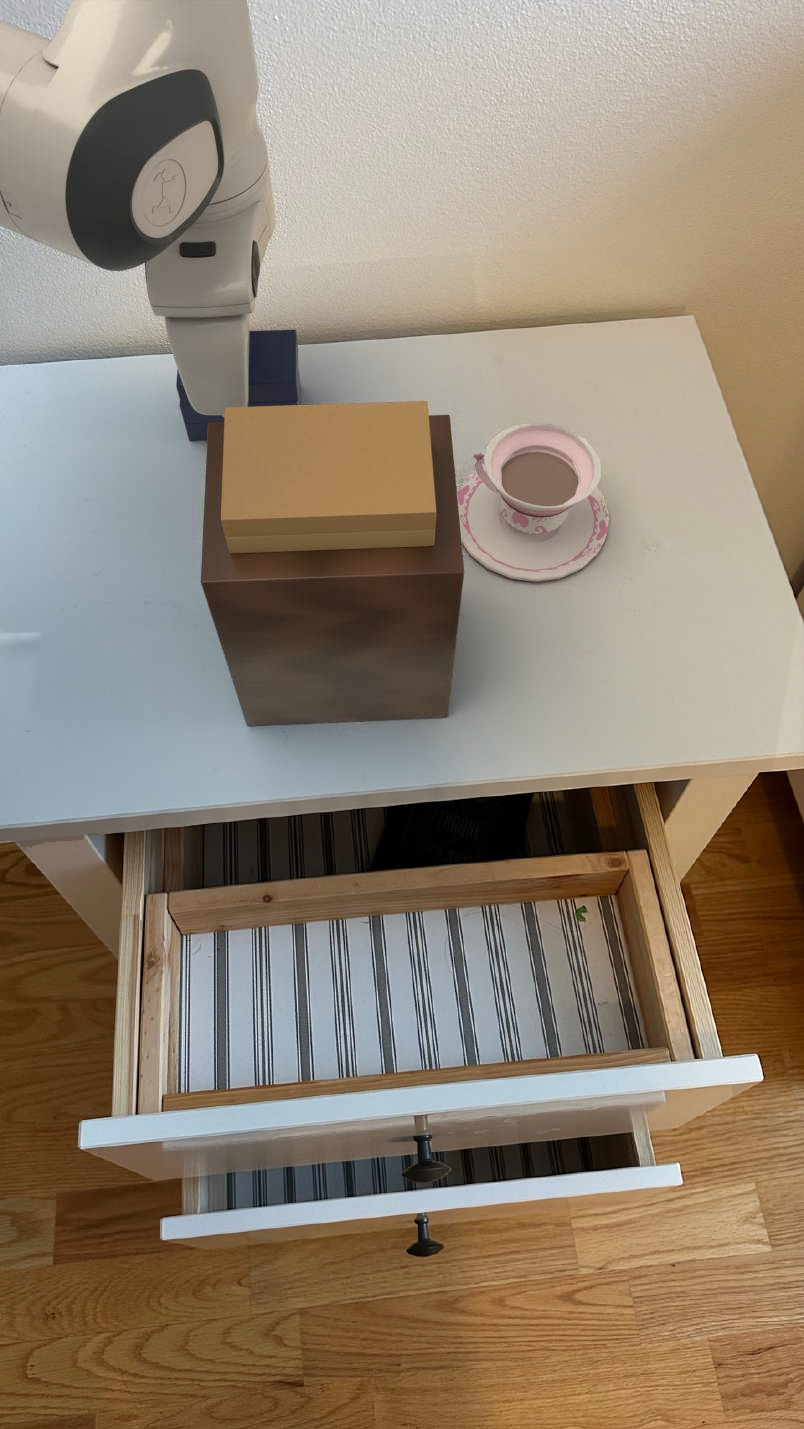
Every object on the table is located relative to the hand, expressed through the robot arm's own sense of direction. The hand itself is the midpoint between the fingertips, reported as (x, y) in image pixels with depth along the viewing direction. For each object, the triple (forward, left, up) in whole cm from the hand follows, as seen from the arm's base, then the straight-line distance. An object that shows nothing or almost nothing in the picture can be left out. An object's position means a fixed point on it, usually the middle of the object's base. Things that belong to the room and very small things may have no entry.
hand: (235, 364), depth 75 cm
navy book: (0, 0, -1) cm, 1 cm away
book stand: (+18, -16, -5) cm, 25 cm away
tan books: (+18, -16, +13) cm, 27 cm away
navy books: (0, 0, -5) cm, 5 cm away
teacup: (+25, +1, -6) cm, 26 cm away
